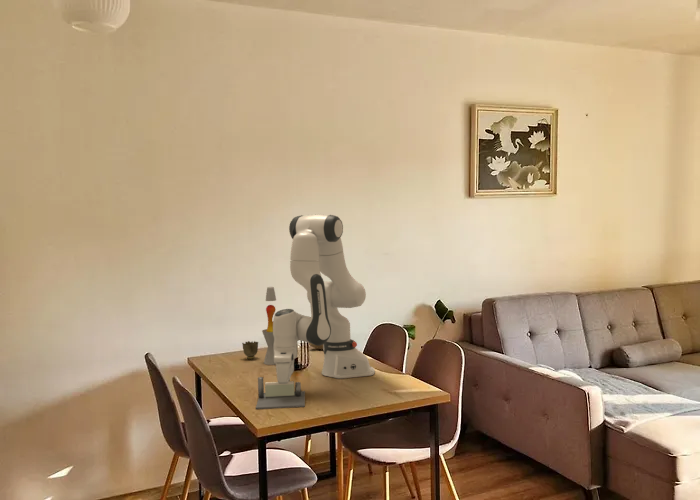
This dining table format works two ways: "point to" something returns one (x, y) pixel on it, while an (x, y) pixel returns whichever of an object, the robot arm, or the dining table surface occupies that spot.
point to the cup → (250, 349)
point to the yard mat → (281, 401)
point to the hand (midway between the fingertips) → (286, 389)
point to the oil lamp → (316, 346)
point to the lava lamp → (269, 327)
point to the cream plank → (279, 389)
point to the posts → (261, 388)
